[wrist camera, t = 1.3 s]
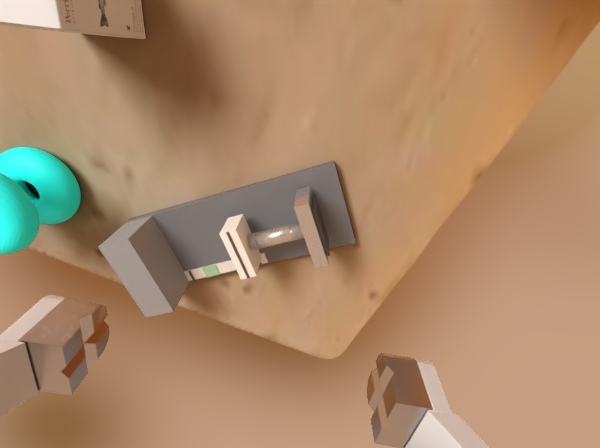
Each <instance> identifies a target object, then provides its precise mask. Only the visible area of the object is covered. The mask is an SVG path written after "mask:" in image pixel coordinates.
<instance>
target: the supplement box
mask: <svg viewBox="0 0 600 448" xmlns="http://www.w3.org/2000/svg"><path fill="white" fill-rule="evenodd" d="M0 25H7V26H16V27H24V28H33V29H42V30H52V31H62V32H72V33H82V34H92V35H101V36H111V37H123V38H135V39H146V35H145V28H144V21H143V13H142V4H141V0H0Z"/></svg>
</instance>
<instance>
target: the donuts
mask: <svg viewBox="0 0 600 448" xmlns="http://www.w3.org/2000/svg"><path fill="white" fill-rule="evenodd" d="M25 181H26V182H28V183H30V184H32V185H33V186H34V187H35V188H36V189H37V191H38V193H39V196H40V198H38V197H36V196H35V195H34V194H33V193H31V191H30V190H29V189H28V187H27V185H26V183H25ZM80 201H81V192H80V187H79V184H78V182H77V180H76V178H75V176H74V175H73V173H72V172H71V171H70V169H69V168H68V167H67V166H66V165H65V164H64V163H63V162H62V161H60V160H59V159H58V158H56V157H55V156H53V155H51V154H49V153H47V152H45V151H42V150H39V149H36V148H31V147H17V148H13V149H9V150H7V151H5V152H3V153H2V154H0V254H10V253H14V252H17V251H20V250H22V249H24V248H25V247H27V246H28V245H29V244H30V243H31V242H32V241H33V240H34V239H35V237H36V235H37V233H38V229H39V224H47V225H49V224H58V223H61V222H64V221H66V220H68V219H69V218H71V217H72V216H73V215H74V214H75V213H76V211H77V210H78V208H79V205H80Z"/></svg>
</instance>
